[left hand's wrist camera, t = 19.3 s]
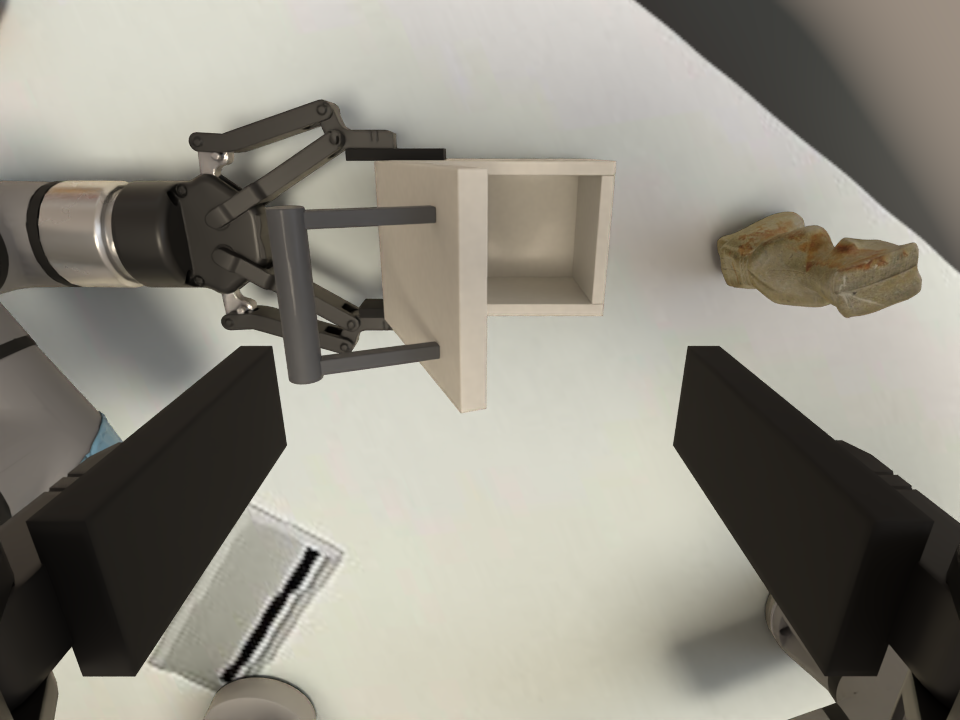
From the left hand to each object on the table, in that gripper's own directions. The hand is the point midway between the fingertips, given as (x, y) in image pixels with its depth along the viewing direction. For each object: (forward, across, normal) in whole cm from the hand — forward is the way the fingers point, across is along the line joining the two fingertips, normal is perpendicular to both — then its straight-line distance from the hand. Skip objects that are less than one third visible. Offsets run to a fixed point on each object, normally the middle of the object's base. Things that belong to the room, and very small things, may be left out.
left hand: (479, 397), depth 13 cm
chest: (+34, -1, 0) cm, 34 cm away
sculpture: (+34, -23, +2) cm, 41 cm away
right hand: (+28, +2, 0) cm, 28 cm away
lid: (+17, +2, 0) cm, 17 cm away
